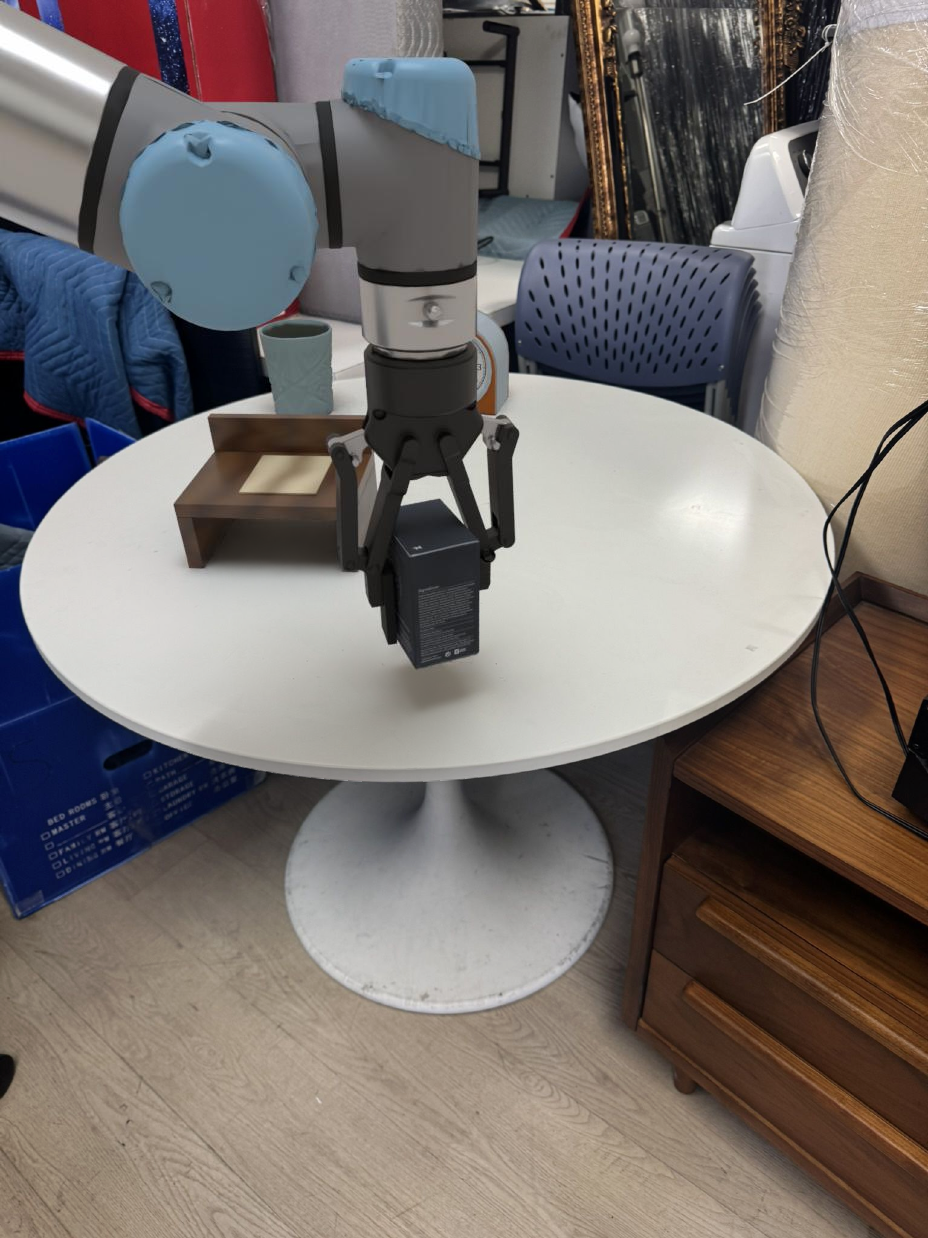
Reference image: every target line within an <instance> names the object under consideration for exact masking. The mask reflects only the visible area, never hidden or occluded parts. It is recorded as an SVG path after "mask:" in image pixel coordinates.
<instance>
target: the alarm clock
mask: <svg viewBox="0 0 928 1238" xmlns="http://www.w3.org/2000/svg"><path fill="white" fill-rule="evenodd" d="M471 342H472V343H473V344H474V346H475V347H476V348H477V406H478V409H479V412H480V413H481V415H482V414H483V415H493V416H494V415H496V416H497V414H498V412H499V411H500V409H502V407H503V405H505V402H506V401H507V400H508V398H509V390H510V389H509V388H510V387H509V386H510V385H509V381H510V380H509V379H510V376H509V375H510V351H509V343H508V341H507V337H506V335H505V332H504V330H503V329H502V327H501V326H500V325H499V323H498V322H497V321H496V320H495V319H494V318H493V317H491V316H490V315H489V314H487V313H486V312H484V311H482V310H479V309H477V335H476V336H475V337H474V339H473V340H471Z"/></svg>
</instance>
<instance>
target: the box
mask: <svg viewBox="0 0 928 1238" xmlns="http://www.w3.org/2000/svg"><path fill="white" fill-rule="evenodd" d="M386 558H387V561H388V563H389V566H390V568H391V571H392V573H393V582H394V598H395V614H396V630H397V643H398V644H399V645H400V647H401V649H402V650H403V652H404V653H405V655H406V657H407V658H408V660H409V661H410V663H411V664H412V666H413V668H414V669H415V670H416V671H420V670H423V669H428V668H432V667H435V666H436V667H437V666H440V665H443V664H446V663H452V662H455V661H458V660H462V659H465V658H469V657H472V656H476V655H477V656H478V654H479V653H480V591H481V590H480V587H479V584H480V581H479V577H480V573H479V571H480V567H479V540H478V539H477V538H476V537H475V536H474V535H473V534H472V533H471V531H470V530H469V529H468V528H467V527H466V526H465V525H464V523H463V521H462V520H460V518H459V517H458V516H457V515H456V514H455V513H454V512H453V511H452V510H451V509H450V508H449V506H448V505H447V504H446V503H445V502H444V501H443V499H441V498H435V499H429V500H424V501H419V502H413V503H409V504H404V505H401V506H400V510H399V513H398V517H397V520H396V524H395V527H394V531H393V535H392V538H391V542H390V545H389V549H388V552H387V556H386Z"/></svg>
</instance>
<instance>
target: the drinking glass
mask: <svg viewBox="0 0 928 1238" xmlns="http://www.w3.org/2000/svg"><path fill="white" fill-rule="evenodd" d="M258 335H259V339H260V343H261V344H260V345H261V346H262V352H263V356H264V362H265V363H266V364H265V366H266V368H267V375H268V379H269V383H270V384H271V385H270V387H271V394H272V399H273V403H274V404H273V405H274V411H275V414H306V415H330V413H331V412H333V409H334V390H333V377H334V376H333V367H332V359H333V328H332V325H331V324H329V323H328V322H326V321H322V320H317V319H305V318H303V319H302V318H301V319H300V318H298V319H297V318H295V319H285V320H278V321H273V322H270V323H268V324H265V325H263V326H261V327H260V328H259V330H258Z"/></svg>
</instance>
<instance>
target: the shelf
mask: <svg viewBox="0 0 928 1238" xmlns="http://www.w3.org/2000/svg"><path fill="white" fill-rule="evenodd" d="M365 417H366V414H327V415H306V414H277V413H210V414H209V415H208V416H207V418H206V419H207V423H208V427H209V432H210V437H211V441H212V446H213V451H214V452H213V453H212V454H211V455H210V457H209V458H208V459H207V461H205V463H204V464H203V466H202V467H201V468H200V469H199V470H198V472H197V473H196V474H195V476H193V478H192V479H191V481H190V482H189V483H188V484H187V486H186V487H185V488H184V490H183V491H182V492H181V493H180V495H179V496H178V497H177V498H176V500H175V501H174V502H173V509H174V513H175V517H176V521H177V526H178V529H179V532H180V537H181V541H182V545H183V549H184V553H185V557H186V561H187V566H188V568H189V569H193V568H195V569H203V568H205V567H206V565H207V563H208V562H209V560H210V558H211V557H212V555H213V554H214V552H215V550H216V549H217V547H219V544H220V543H221V541H222V539H223V538H224V536H225V535H226V533H227V532H228V530H229V528H230V527H231V525H232V524H233V523H234V521H235V519H252V520H255V519H257V520H258V519H259V520H299V521H300V520H301V521H302V520H305V521H306V520H308V521H310V520H311V521H336V523H337V517H336V480H335V466H334V464H333V461H332V459H331V456H330V453H329V451H328V448H327V445H326V438H327V437H328V435H330V434H332V433H337V434H339V435H341V437H342V436H344V435H347V434H349V433H352V432H355V431H357V430H360V429H362V423H363V421H364V419H365ZM362 458H363V459H362V462H361V464H360V465H359V466H358V467H354V468H355V471H356V475H357V483H358V547H363V545H364V541H365V537H366V533H367V529H368V526H369V522H370V518H371V514H372V511H373V507H374V503H375V499H376V495H377V492H378V482H377V470H376V461H375V459H376V458H375V452H374V451H373V450H372V449H371V448H370V447H369V446H368V447H366V448H365V449H364V450H363V453H362ZM341 570H342V572H347V573H348V572H349V573H351V572H353V573H358V571H359V570H354V571H351V572H350V571H346V570H344V569H343V566H342V565H341Z"/></svg>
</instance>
